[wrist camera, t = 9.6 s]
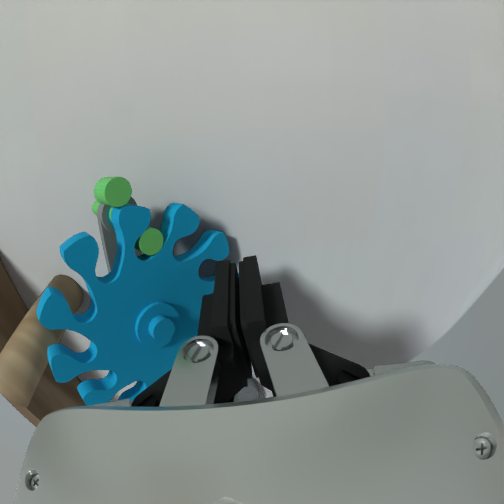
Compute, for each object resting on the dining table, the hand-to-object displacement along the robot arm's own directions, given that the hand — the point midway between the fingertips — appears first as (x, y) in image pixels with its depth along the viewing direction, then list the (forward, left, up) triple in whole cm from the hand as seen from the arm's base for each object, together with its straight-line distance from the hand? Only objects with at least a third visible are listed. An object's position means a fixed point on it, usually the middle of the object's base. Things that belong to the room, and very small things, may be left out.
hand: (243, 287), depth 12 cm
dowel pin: (+11, 0, -3) cm, 11 cm away
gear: (+4, 0, -3) cm, 5 cm away
